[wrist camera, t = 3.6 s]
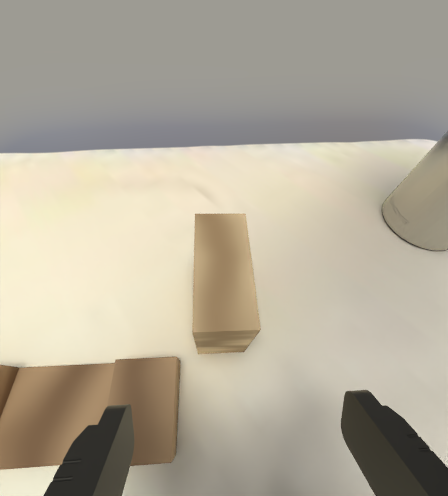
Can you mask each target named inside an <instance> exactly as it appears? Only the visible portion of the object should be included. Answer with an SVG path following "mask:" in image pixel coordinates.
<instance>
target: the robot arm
mask: <svg viewBox="0 0 448 496" xmlns="http://www.w3.org/2000/svg"><path fill="white" fill-rule="evenodd" d="M382 211H383V216H384V218H385V221H386V222H387V223H388V225H389V226H390V227H391V229H392V230H393V231H394V232H395V233H397V234H398V235H399V236H400V237H401V238H403V239H405V240H406V241H408V242H410V243H412V244H414V245H416V246H418V247H421V248H425V249H429V250H435V251H438V250H447V249H448V131H447V132H446V133H445V134H444V136H443V137H442V138H441V139H440V140H439V141H438V142H437V143H436V145H435V146H434V147H433V148H432V149H431V150H430V151H429V152H428V153H427V155H426V156H425V157H424V158H423V159H422V160H421V161H420V162H419V164H418V165H417V166H416V167H415V168H414V169H413V170H412V171H411V172H410V174H409V175H408V176H407V177H406V178H405V179H404V180H403V181H402V182H401V184H400V185H399V186H398V187H397V188H396V189H395V190H394V191H393V193H392V194H391V195H390V196H389V197H388V198H387V199H386V200H385V202H384V204H383V208H382ZM341 430H342V434H343V437H344V440H345V442H346V444H347V446H348V448H349V450H350V451H351V453H352V455H353V457H354V458H355V460H356V462H357V464H358V465H359V467H360V469H361V471H362V472H363V474H364V476H365V478H366V480H367V481H368V483H369V485H370V487H371V488H372V490H373V492H374V494H375V495H376V496H448V468H447V467H446V465H445V464H444V463H443V462H442V461H441V460H440V459H439V458H438V457H437V455H436V454H435V453H434V452H433V451H431V450H430V448H429V446H428V445H427V444H426V443H425V442H424V441H423V440H422V439H421V437H418V435H417V433H416V432H415V431H414V430H413V428H412V427H411V426H410V425H409V424H408V423H407V422H406V421H405V419H404V418H402V417H401V416H400V415H398V414H397V413H396V412H394V411H393V410H392V409H390V408H389V407H388V406H382V405H381V404H380V403H379V402H378V400H377V399H376V398H375V397H374V396H373V395H372V393H371V392H369V391H368V390H359V391H347V392H346V393H345V396H344V403H343V411H342V418H341ZM133 451H134V429H133V419H132V409H131V405H130V404H126V405H111V406H107V407H106V409H105V410H104V412H103V414H102V417H101V419H100V421H99V423H98V425H88V426H87V427H86V428H85V429H84V430H83V431H82V432H81V434H80V435H79V436H78V437H77V438H76V439H75V440H74V441H73V443H72V444H71V446H70V448H69V450H68V452H67V454H66V455H65V457H64V459H63V462H62V465H60V467H59V468H58V470H57V472H56V474H55V476H54V478H53V481H52V482H51V483H50V485H49V487H48V489H47V490H46V492H45V494H44V496H122V493H123V489H124V485H125V482H126V478H127V475H128V471H129V468H130V464H131V461H132V456H133Z"/></svg>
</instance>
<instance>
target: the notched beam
mask: <svg viewBox="0 0 448 496" xmlns="http://www.w3.org/2000/svg"><path fill="white" fill-rule="evenodd" d="M179 379H180V360H179V359H178V358H177V357H162V358H141V359H120V360H116V361H115V363H111V364H90V365H69V366H48V367H27V368H17V367H11V366H4V365H0V470H1V469H14V468H27V467H40V466H53V465H62V462H63V459H64V457H65V455H66V454H67V452H68V450H69V448H70V446H71V444H72V443H73V441H74V440H75V439H76V438H77V437H78V436H79V435H80V434H81V432H82V431H83V430H84V429H85V428H86V427H87V426H88V425H98V423H99V421H100V419H101V417H102V414H103V412H104V410H105V409H106V407H107V406H111V405H126V404H130V405H131V409H132V419H133V429H134V451H133V456H132V461H131V464H130V466H135V465H148V464H161V463H171V462H172V460H173V459H174V457H175V455H176V445H177V423H178V401H179Z"/></svg>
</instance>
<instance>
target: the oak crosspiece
mask: <svg viewBox="0 0 448 496" xmlns="http://www.w3.org/2000/svg"><path fill="white" fill-rule="evenodd" d="M260 330H261V329H260V322H259V314H258V306H257V299H256V291H255V283H254V276H253V268H252V260H251V253H250V245H249V237H248V230H247V222H246V214H195V240H194V285H193V331H192V333H193V336H194V340H195V344H196V348H197V351H198V354H209V353H231V352H244V351H245V350H246V349H247V347H248V346H249V345H250V343H251V342H252V341H253V339H254V338H255V337H256V335H257V334H258V333H259V331H260Z"/></svg>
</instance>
